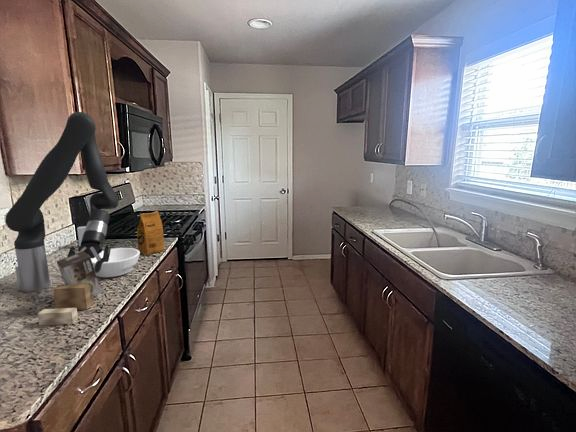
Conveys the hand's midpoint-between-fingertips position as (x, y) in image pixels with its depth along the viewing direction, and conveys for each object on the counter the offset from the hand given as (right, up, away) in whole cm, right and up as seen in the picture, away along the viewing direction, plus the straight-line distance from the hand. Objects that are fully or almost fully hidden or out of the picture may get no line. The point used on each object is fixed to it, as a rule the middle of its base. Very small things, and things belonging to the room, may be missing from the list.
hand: (84, 272), depth 119 cm
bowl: (-4, -5, +28) cm, 29 cm away
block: (0, -11, -5) cm, 12 cm away
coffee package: (0, +1, +59) cm, 59 cm away
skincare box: (-40, +3, +67) cm, 78 cm away
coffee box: (-1, -9, +2) cm, 9 cm away
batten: (+1, -13, -15) cm, 20 cm away
